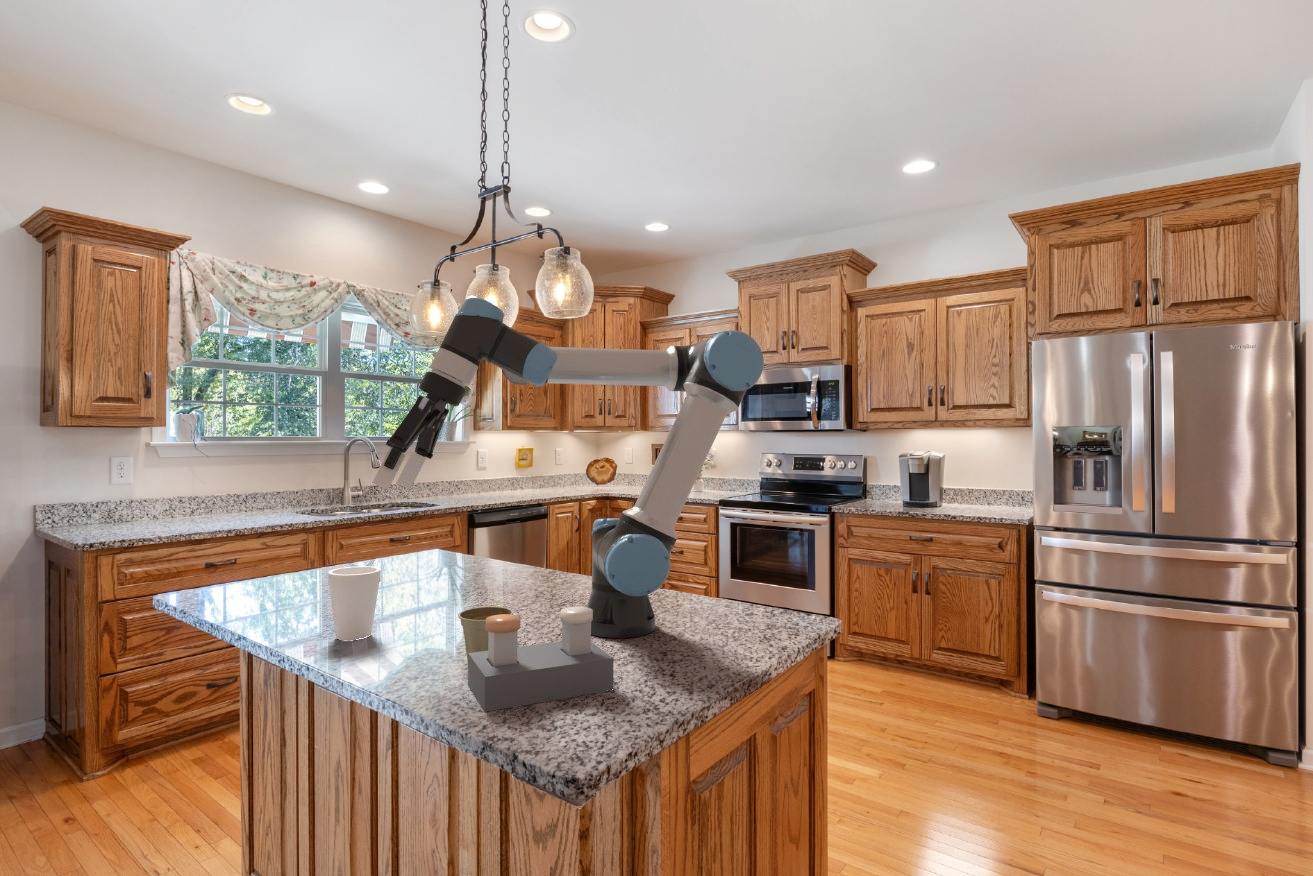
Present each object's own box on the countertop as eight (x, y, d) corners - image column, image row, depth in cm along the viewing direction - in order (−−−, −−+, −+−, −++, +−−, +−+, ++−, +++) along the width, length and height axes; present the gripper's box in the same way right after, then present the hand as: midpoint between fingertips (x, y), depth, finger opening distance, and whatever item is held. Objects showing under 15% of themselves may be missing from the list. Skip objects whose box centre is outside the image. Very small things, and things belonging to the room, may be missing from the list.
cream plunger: (585, 646, 113) (586, 605, 113) (597, 655, 108) (597, 612, 108) (555, 650, 110) (556, 608, 110) (566, 660, 106) (566, 616, 106)
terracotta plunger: (514, 656, 107) (515, 612, 107) (523, 666, 103) (524, 620, 103) (481, 660, 105) (482, 616, 105) (489, 671, 100) (490, 624, 100)
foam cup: (338, 630, 137) (339, 566, 137) (385, 629, 138) (386, 566, 138) (319, 644, 128) (320, 575, 128) (369, 643, 128) (370, 575, 128)
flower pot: (484, 674, 112) (485, 622, 112) (445, 664, 117) (446, 614, 117) (523, 659, 120) (524, 611, 120) (486, 650, 125) (486, 604, 125)
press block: (585, 667, 116) (586, 638, 116) (613, 690, 106) (613, 658, 106) (467, 684, 107) (468, 653, 107) (484, 711, 97) (485, 676, 97)
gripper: (443, 380, 133) (393, 478, 130) (409, 356, 108) (346, 475, 106) (478, 397, 133) (429, 494, 131) (452, 376, 108) (390, 496, 106)
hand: (392, 486), depth 118 cm, fingers open, 13 cm apart
